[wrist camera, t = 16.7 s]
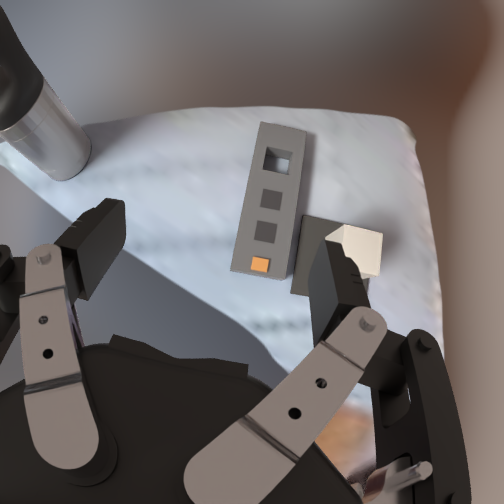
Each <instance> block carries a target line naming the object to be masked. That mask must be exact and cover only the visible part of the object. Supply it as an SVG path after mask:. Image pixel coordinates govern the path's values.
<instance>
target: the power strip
mask: <svg viewBox="0 0 504 504" xmlns="http://www.w3.org/2000/svg"><path fill="white" fill-rule="evenodd" d="M306 133H307V132H306V131H302V130H297V129H293V128H289V127H284V126H280V125H275V124H271V123H266V122H260V126H259V131H258V136H257V140H256V145H255V150H254V155H253V159H252V164H251V169H250V174H249V178H248V183H247V188H246V193H245V198H244V203H243V208H242V213H241V218H240V223H239V228H238V233H237V238H236V243H235V248H234V253H233V258H232V263H231V268H230V271H233V272H239V273H244V274H249V275H254V276H260V277H265V278H270V279H276V280H281V281H282V280H284V279H285V276H286V270H287V264H288V258H289V252H290V246H291V240H292V233H293V227H294V220H295V214H296V207H297V200H298V193H299V186H300V179H301V172H302V164H303V157H304V149H305V141H306ZM265 155H269V156H274V157H279V158H283V159H288V160H289V166H288V172H287V175H286V174H281V173H277V172H272V171H267V170H262V169H263V163H264V158H265Z"/></svg>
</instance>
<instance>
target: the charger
mask: <svg viewBox="0 0 504 504" xmlns="http://www.w3.org/2000/svg"><path fill="white" fill-rule="evenodd" d="M382 239H383V234H382V233H378V232H374V231H370V230H366V229H362V228H358V227H354V226H350V225H346V224H344V225H343V226H341V227H340V228H338V229H337V230H335V231H334V232H332V233H331V234H329V235H328V236H326V237H325V240H329V241H334V242H338V243H341V244H342V247H343V250H344V253H345V256H346V257H350V258H351V259H352V260H353V261H354V262H355V263H356V265H357V266H358V268H359V271H360V274H361V278H362V279H366V278H371V277H376V276H379V270H380V261H381V250H382Z"/></svg>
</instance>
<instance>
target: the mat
mask: <svg viewBox="0 0 504 504" xmlns="http://www.w3.org/2000/svg"><path fill="white" fill-rule="evenodd" d="M343 225H344V224H340V223H336V222H332V221H328V220H323V219H319V218H314V217H310V216H305V215H303V216H302V222H301V229H300V236H299V243H298V249H297V255H296V262H295V268H294V274H293V280H292V286H291V292H290V293H291V294H297V295H302V296H308V297H309V291H308V276H309V272H310V269H311V266H312V264H313V261H314V258H315V256H316V253H317V250H318V248H319V245H320V243H321V241H322V240H323V239H324V240H325V237H326V236H328V235H329V234H331V233H332V232H334V231H335V230H337V229H338V228H340V227H341V226H343ZM362 280H363V285H364V286H365V290H366V291H367V284H368V278H366V279H362Z"/></svg>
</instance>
